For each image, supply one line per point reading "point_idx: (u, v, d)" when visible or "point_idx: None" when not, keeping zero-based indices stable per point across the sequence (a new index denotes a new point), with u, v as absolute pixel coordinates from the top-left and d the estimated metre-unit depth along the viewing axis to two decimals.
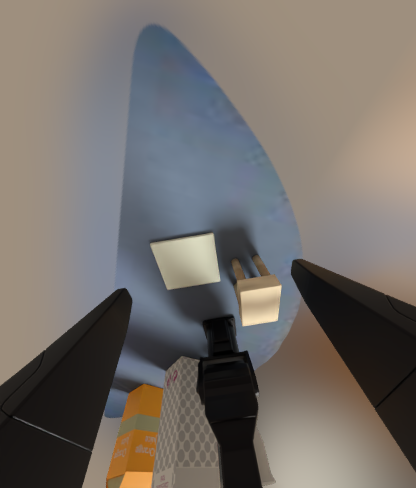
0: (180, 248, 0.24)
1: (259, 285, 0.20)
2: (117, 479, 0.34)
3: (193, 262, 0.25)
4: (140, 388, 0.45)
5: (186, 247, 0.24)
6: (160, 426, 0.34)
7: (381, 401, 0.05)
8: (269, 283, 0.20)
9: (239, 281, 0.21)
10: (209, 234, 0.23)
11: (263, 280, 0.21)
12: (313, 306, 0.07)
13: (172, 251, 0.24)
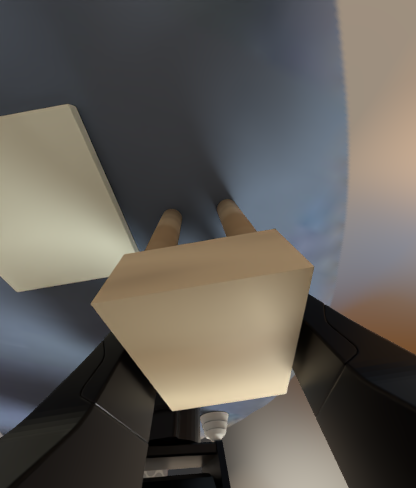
0: None
1: (200, 269, 0.04)
2: None
3: (48, 214, 0.09)
4: None
5: None
6: None
7: (319, 410, 0.05)
8: (250, 260, 0.04)
9: (128, 257, 0.05)
10: (58, 108, 0.07)
11: (226, 249, 0.05)
12: None
13: None
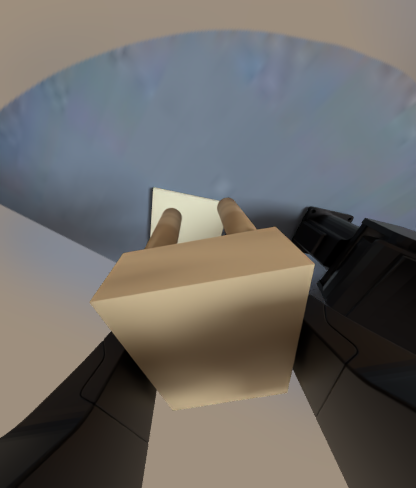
0: None
1: (200, 267, 0.04)
2: None
3: (186, 224, 0.21)
4: None
5: None
6: None
7: (319, 410, 0.05)
8: (250, 257, 0.04)
9: (127, 256, 0.05)
10: (153, 192, 0.19)
11: (225, 247, 0.05)
12: None
13: None
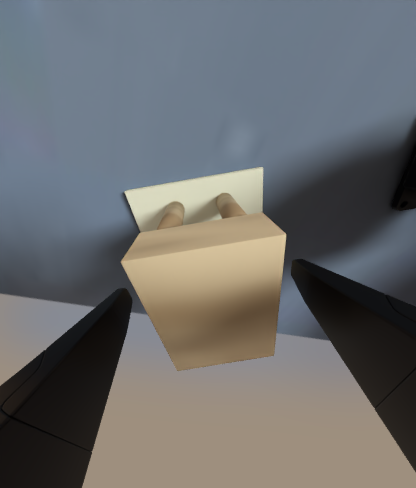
0: None
1: (202, 239, 0.05)
2: None
3: None
4: None
5: None
6: None
7: (381, 401, 0.05)
8: (240, 232, 0.05)
9: (143, 234, 0.06)
10: (129, 199, 0.11)
11: (222, 226, 0.06)
12: (313, 306, 0.07)
13: None
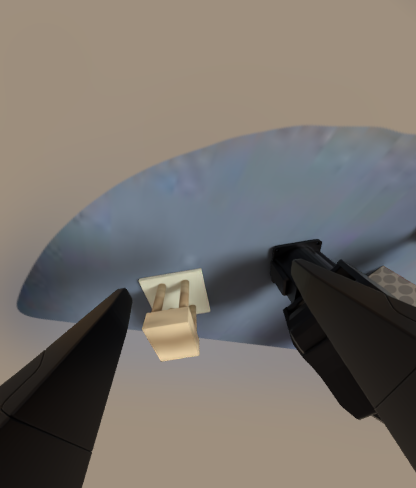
0: None
1: (165, 321, 0.18)
2: None
3: (174, 294, 0.25)
4: None
5: None
6: None
7: (380, 400, 0.05)
8: (177, 318, 0.18)
9: (148, 314, 0.19)
10: (140, 283, 0.24)
11: (173, 314, 0.19)
12: (313, 306, 0.07)
13: (163, 308, 0.26)
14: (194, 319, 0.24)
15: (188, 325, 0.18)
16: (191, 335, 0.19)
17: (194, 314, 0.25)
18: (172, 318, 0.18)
